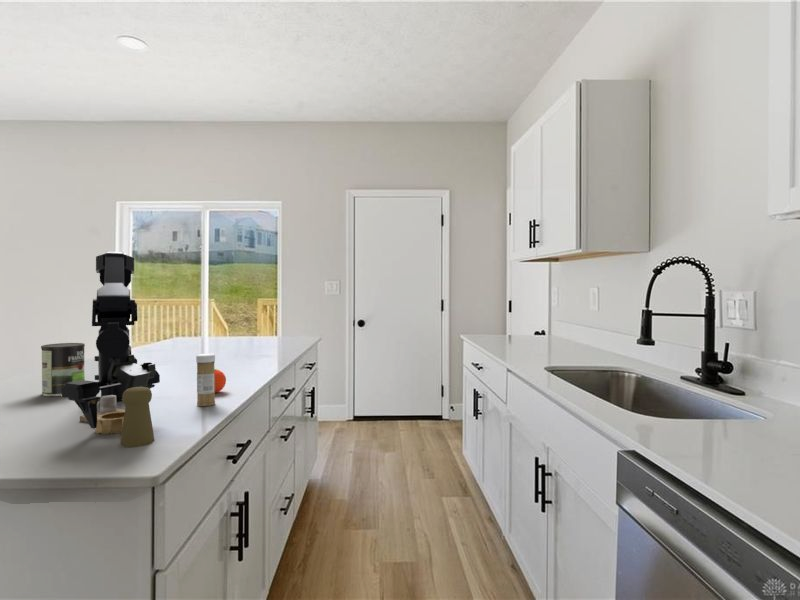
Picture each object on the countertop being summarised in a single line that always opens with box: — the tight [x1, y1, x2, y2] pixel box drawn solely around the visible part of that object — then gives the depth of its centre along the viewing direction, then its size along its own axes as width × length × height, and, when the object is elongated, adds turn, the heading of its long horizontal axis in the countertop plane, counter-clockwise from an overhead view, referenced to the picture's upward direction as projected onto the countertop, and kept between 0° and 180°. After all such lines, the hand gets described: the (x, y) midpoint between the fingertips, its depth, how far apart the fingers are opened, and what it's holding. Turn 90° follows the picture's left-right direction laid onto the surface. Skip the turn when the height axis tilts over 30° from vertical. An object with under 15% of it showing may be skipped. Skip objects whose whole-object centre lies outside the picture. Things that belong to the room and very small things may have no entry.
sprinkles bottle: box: [195, 353, 216, 407], centre depth 122 cm, size 5×5×14 cm
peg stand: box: [79, 395, 125, 423], centre depth 109 cm, size 8×8×5 cm
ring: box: [94, 411, 125, 435], centre depth 101 cm, size 7×7×3 cm
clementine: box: [214, 368, 227, 394], centre depth 137 cm, size 8×7×7 cm
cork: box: [119, 387, 155, 448], centre depth 92 cm, size 6×6×11 cm
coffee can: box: [40, 342, 86, 397], centre depth 134 cm, size 10×10×14 cm
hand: (114, 422), depth 101 cm, fingers open, 9 cm apart
